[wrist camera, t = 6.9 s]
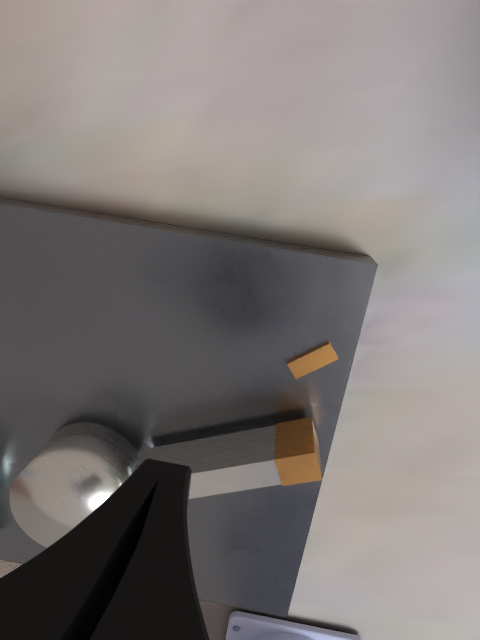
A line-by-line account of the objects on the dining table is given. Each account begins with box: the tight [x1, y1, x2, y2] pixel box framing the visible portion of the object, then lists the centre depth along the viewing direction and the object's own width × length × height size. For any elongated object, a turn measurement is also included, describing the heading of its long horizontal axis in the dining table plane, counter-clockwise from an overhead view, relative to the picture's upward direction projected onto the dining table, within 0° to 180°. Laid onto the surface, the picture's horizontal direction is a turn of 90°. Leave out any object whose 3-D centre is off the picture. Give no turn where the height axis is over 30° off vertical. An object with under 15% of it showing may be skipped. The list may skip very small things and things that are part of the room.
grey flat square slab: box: [0, 197, 378, 617], centre depth 21 cm, size 20×20×3 cm
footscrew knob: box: [9, 417, 322, 548], centre depth 19 cm, size 14×5×3 cm, turn 106°
